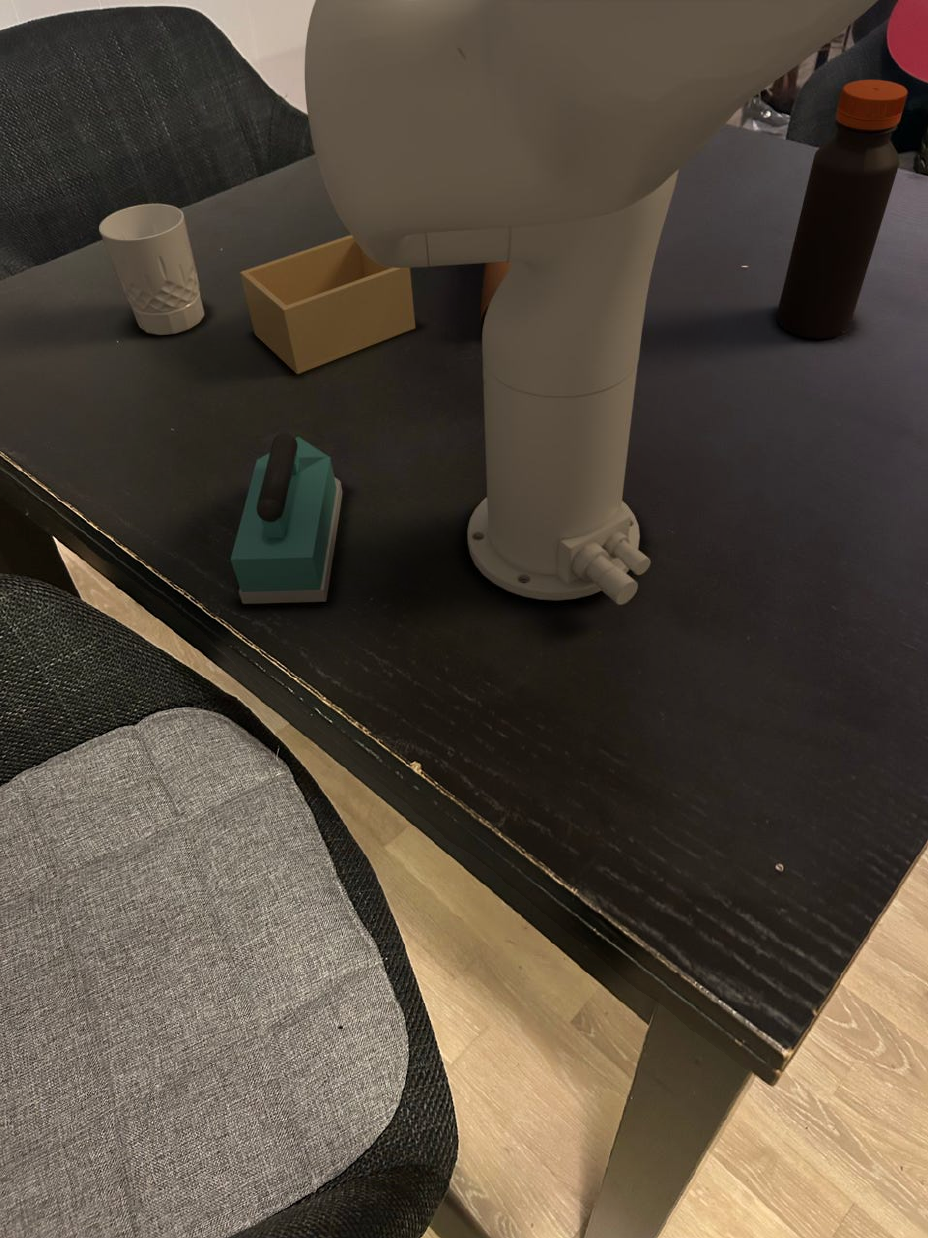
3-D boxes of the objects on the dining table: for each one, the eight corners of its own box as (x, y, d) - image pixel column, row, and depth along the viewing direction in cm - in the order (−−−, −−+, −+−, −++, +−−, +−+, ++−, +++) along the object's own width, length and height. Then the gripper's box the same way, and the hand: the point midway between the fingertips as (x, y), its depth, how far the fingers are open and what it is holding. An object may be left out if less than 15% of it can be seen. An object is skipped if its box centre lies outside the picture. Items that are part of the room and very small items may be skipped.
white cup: (117, 331, 89) (81, 233, 81) (162, 295, 94) (132, 199, 86) (182, 344, 87) (151, 244, 79) (225, 305, 91) (199, 208, 84)
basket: (415, 328, 87) (409, 264, 82) (297, 374, 82) (283, 309, 77) (368, 292, 92) (360, 231, 87) (254, 334, 87) (239, 271, 82)
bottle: (784, 299, 87) (838, 71, 72) (855, 311, 85) (926, 79, 70) (768, 332, 83) (822, 98, 68) (842, 346, 81) (915, 108, 66)
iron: (326, 601, 62) (307, 522, 56) (242, 604, 62) (215, 525, 57) (346, 469, 72) (332, 390, 66) (274, 471, 72) (253, 393, 67)
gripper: (686, -386, 48) (649, -11, 61) (371, -365, 48) (401, 4, 61) (714, -387, 43) (668, 22, 56) (362, -364, 43) (397, 37, 56)
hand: (528, 12), depth 58 cm, fingers open, 9 cm apart
